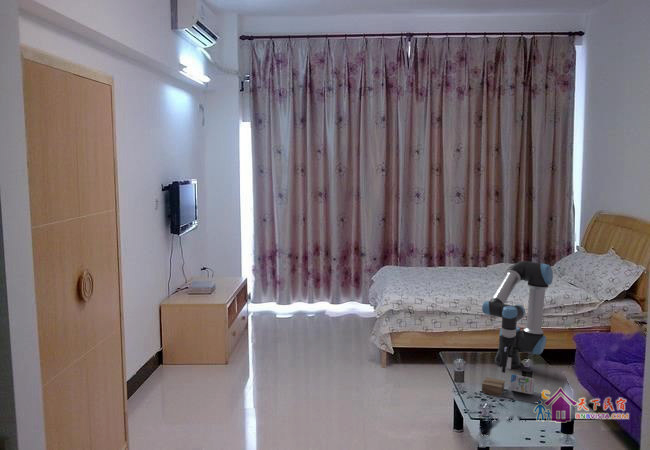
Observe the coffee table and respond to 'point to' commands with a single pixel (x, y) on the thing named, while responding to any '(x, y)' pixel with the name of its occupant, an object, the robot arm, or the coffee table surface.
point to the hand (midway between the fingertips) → (505, 373)
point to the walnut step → (493, 386)
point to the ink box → (522, 384)
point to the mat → (523, 396)
